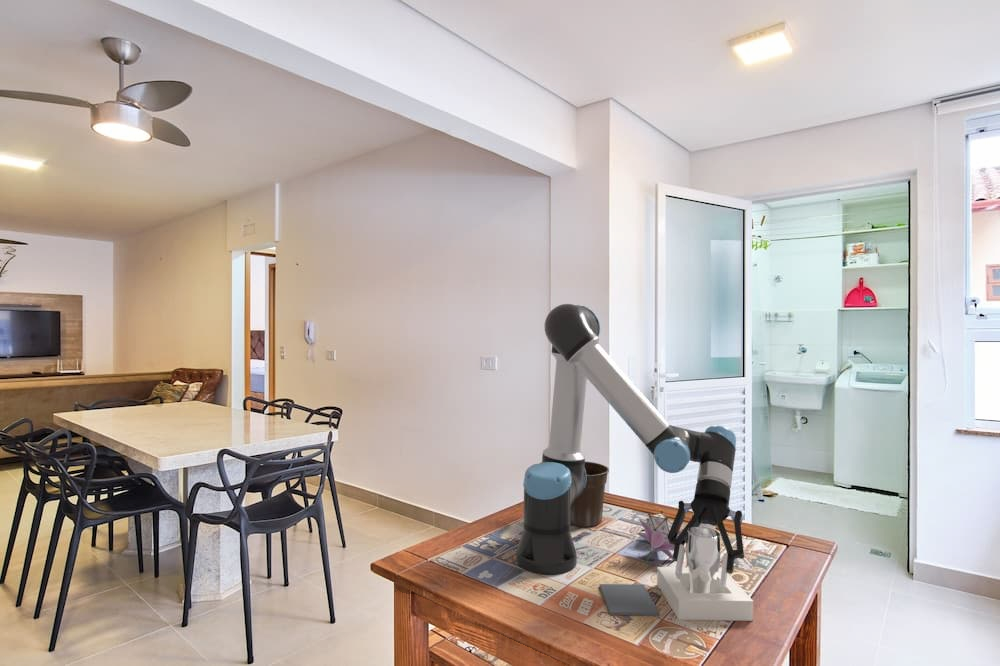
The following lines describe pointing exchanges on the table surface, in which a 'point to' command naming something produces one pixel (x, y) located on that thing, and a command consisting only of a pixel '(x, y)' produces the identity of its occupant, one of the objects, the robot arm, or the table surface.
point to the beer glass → (702, 559)
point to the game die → (659, 524)
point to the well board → (704, 598)
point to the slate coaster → (628, 599)
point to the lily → (656, 540)
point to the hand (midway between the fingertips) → (699, 581)
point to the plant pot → (590, 497)
